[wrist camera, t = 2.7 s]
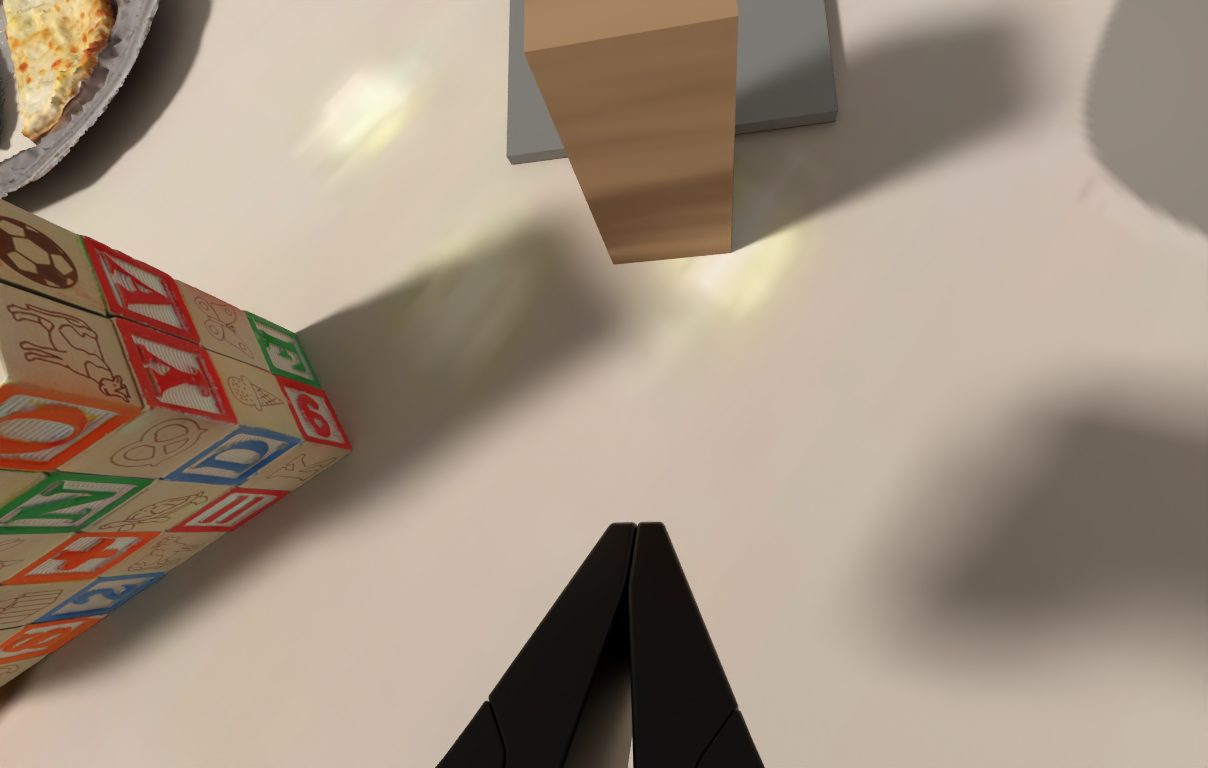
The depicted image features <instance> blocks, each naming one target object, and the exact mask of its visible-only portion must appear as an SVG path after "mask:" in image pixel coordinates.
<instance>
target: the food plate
mask: <svg viewBox="0 0 1208 768" xmlns="http://www.w3.org/2000/svg"><path fill="white" fill-rule="evenodd" d="M157 1H160V0H0V31H2V33H0V79H1V81H0V139H1V138H2V137H1V131H2V127H3V126H2V109H3V107H2V106H3V104H4V101H5V99H3V103H2V104H1V100H2V96H4V94H5V93H4V92H3V90H4V88H5V87H6V86H7V85H8V79H9V78H10V77H11V76H12V75H13V74H14V73H15V76H16V79H15V80H16V82H17V84H18V89H19V93H20V95H19V104H20V111H21V115H20V119H21V121H22V123H23V124H24V127H25V128H24V130H23V131H22V132H21V133H23V135H24V136H25V137H28V138H29V139H30V140H31V141H32V142H34V143H35V144H36V145H37V146H36V147H32V148H29V149H27V150H23V151H20V152H19V153H18V154H17V155H13V157H11V158H9V159H4V161H3V162H0V199H1V198H2V197H6V196H8V195H7V193H8V192H10V191H11V192H12V191H16V190H17V189H18V188H20V187H23V186H25V185H26V184H29V183H30V182H33V181H34V180H37V179H40V177H43V176H44V175H45V174H46V173H47V172H49V171H50V170H51V169H52V168H53V167H54V166H55V165H57V163H58V161H59V162H60V161H61V160H62V159H63V157H64V156H66V155H67V154H68V153H69V152H70V151H71V150H70V147H72V146H73V147H74V144H76V143H77V142H79V138H80V136H83V134H85V133H84V132H85V130H87V128H89V127H91V126H93V125H94V123H95V121H97V117H100V116H101V114H102V113H103V112H104V111H106V108H107V104H108V103H111V99H113V97H114V96H113V95H116V94H117V93H118V91H119V90H118V88H119V87H122V85H123V82H124V79H125V78H127V77H126V76H127V75H129V73H128V72H130V70H131V68H132V67H131V66H133V64H134V62H135V61H136V58H137V56H138V55H139V54H138V53H139V52H140V51H139V50H141V47H142V46H143V43H144V41H145V39H146V36H147V34H148V32H149V31H150V28H151V23H152V21H153V17H154V15H155V13H156V11H157V9H158V7H159V4H160V3H159V2H157ZM1 62H2V63H1ZM87 131H88V130H87Z"/></svg>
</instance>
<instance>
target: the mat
mask: <svg viewBox="0 0 1208 768" xmlns="http://www.w3.org/2000/svg"><path fill="white" fill-rule="evenodd" d="M737 6H738V42H737V74H736V105H735V134H743V133H750V132H757V131H765V130H772V129H780V128H787V127H795V126H802V125H809V124H817V123H824V122H832V121H835V119H836V116H837V112H838V108H837V100H836V92H835V84H834V76H833V68H832V60H831V52H830V44H829V36H828V28H827V20H826V12H825V4H824V0H737ZM564 157H568V156H567V153H566V151H565V149H564V146H563V144H562V142H561V139H560V137H559V135H558V132H557V130H556V127H555V125H554V123H553V120H552V118H551V116H550V113H549V111H548V109H547V106H546V104H545V101H544V99H543V97H542V94H541V92H540V90H539V87H538V85H537V83H536V80H535V78H534V75H533V73H532V71H531V68H530V66H529V64H528V61H527V59H526V57H525V54H524V0H510V26H509V73H508V120H507V158H508V159H509V161H510V163H511V164H519V163H527V162H534V161H542V160H549V159H557V158H564Z"/></svg>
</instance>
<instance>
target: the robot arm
mask: <svg viewBox="0 0 1208 768" xmlns="http://www.w3.org/2000/svg"><path fill="white" fill-rule="evenodd" d="M632 738H633V767H634V768H765V767H764V765H763V762H762V760H761V758H760V756H759V753H758V751H757V749H756V747H755V744H754V742H753V740H752V738H751V735H750V733H749V730H748V728H747V726H746V723H745V721H744V718H743V716H742V713H741V711H739V710H738V704H737V702H736V699H735V697H734V694H733V692H732V689H731V687H730V684H729V682H728V680H727V677H726V675H725V672H724V670H723V667H722V665H721V662H720V660H719V657H718V655H717V653H716V650H715V648H714V645H713V643H712V640H711V638H710V635H709V633H708V630H707V628H706V626H705V623H704V621H703V618H702V616H701V613H700V611H699V608H698V606H697V603H696V601H695V599H694V596H693V594H692V591H691V589H690V586H689V584H688V581H687V579H686V576H685V574H684V572H683V569H682V567H681V564H680V562H679V559H678V557H677V554H676V552H675V549H674V547H673V545H672V542H671V540H670V537H669V535H668V532H667V530H666V527H665V525H664V524H663V523H662V522H640V523H639V524H638V526H637V525H636V524H635V523H633V522H623V523H612V524H611V525H609V527H608V528H607V530H606V531H605V532H604V534H603V535H602V537H601V538H600V539H599V541H598V542H597V544H596V545H595V547H594V548H593V549H592V551H591V552H590V554H589V555H588V556H587V558H586V559H585V561H584V562H583V563H582V565H581V566H580V568H579V569H578V571H577V572H576V573H575V575H574V576H573V578H572V579H571V580H570V582H569V583H568V585H567V586H566V588H565V589H564V590H563V592H562V593H561V595H560V596H559V597H558V599H557V600H556V602H555V603H554V604H553V606H552V607H551V609H550V610H549V612H548V613H547V614H546V616H545V617H544V619H543V620H542V621H541V623H540V624H539V626H538V627H537V628H536V630H535V631H534V633H533V634H532V636H531V637H530V638H529V640H528V641H527V643H526V644H525V645H524V647H523V648H522V650H521V651H520V653H519V654H518V655H517V657H516V658H515V660H514V661H513V662H512V664H511V665H510V667H509V668H508V669H507V671H506V672H505V674H504V675H503V677H502V678H501V679H500V681H499V682H498V684H497V685H496V686H495V688H494V689H493V691H492V692H491V694H490V695H489V701H485V702H484V703H483V704H482V706H481V707H480V709H479V710H478V711H477V713H476V714H475V716H474V717H473V719H472V720H471V721H470V723H469V724H468V726H467V727H466V728H465V730H464V731H463V732H462V734H461V735H460V736H459V738H458V739H457V740H456V742H455V743H454V744H453V746H452V747H451V748H450V750H449V751H448V752H447V754H446V755H445V756H444V758H443V759H442V760H441V761H440V763H439V764H438V765H437V766H436V767H435V768H628V761H629V754H630V747H631V739H632Z"/></svg>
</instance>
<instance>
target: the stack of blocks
mask: <svg viewBox="0 0 1208 768" xmlns="http://www.w3.org/2000/svg"><path fill="white" fill-rule="evenodd" d="M351 451H352V448H351V445H350V444H349V441H348V439H347V437H346V435H345V433H344V431H343V429H342V427H341V425H340V423H339V421H338V419H337V416H336V414H335V412H334V410H333V408H332V406H331V404H330V402H329V400H328V398H327V396H326V394H325V392H324V391H323V390H322V388H321V386H320V384H319V382H318V380H317V378H316V376H315V374H314V372H313V369H312V367H311V365H310V363H309V361H308V359H307V357H306V355H305V353H304V350H303V348H302V346H301V344H300V342H299V340H298V337H297V335H296V334H295V333H293V332H291V331H289V330H287V329H285V328H283V327H281V326H279V325H276V324H274V323H272V322H270V321H268V320H266V319H264V318H261V317H259V316H257V315H255V314H252V313H250V312H248V311H245V310H244V311H242V310H240V309H238V308H237V307H235V306H233V305H230V304H228V303H226V302H224V301H222V300H220V299H218V298H216V297H214V296H212V295H209V294H207V293H205V292H203V291H201V290H199V289H197V288H194V287H192V286H190V285H188V284H185V283H183V282H181V281H179V280H174V279H173V278H172V277H171V276H169V275H168V274H166V273H164V272H162V271H160V270H158V269H156V268H154V267H152V266H150V265H148V264H146V263H144V262H141V261H139V260H136V259H134V258H132V257H130V256H128V255H126V254H124V253H122V252H120V251H118V250H114V249H111V248H110V247H108V246H107V245H105V244H102V243H100V242H98V241H96V240H94V239H92V238H90V237H87V236H83V235H78V234H75V233H73V232H70V231H68V230H66V229H64V228H62V227H60V226H57V225H55V224H53V223H51V222H49V221H47V220H45V219H43V218H40V217H38V216H36V215H34V214H32V213H30V212H28V211H25V210H23V209H21V208H19V207H17V206H15V205H13V204H11V203H9V202H6V201H4V200H2V199H0V687H1V686H3V685H4V684H6V683H7V682H9V681H10V680H12V679H13V678H15V677H16V676H18V675H19V674H21V673H22V672H24V671H25V670H27V669H28V668H30V667H31V666H33V665H34V664H36V663H37V662H39V661H40V660H41V659H43V658H44V657H45V656H46V655H47V654H49V653H51V652H53V651H55V650H57V649H58V648H60V647H61V646H63V645H64V644H66V643H67V642H69V641H70V640H72V639H73V638H75V637H76V636H78V635H79V634H81V633H82V632H84V631H85V630H87V629H88V628H90V627H91V626H93V625H94V624H96V623H97V622H99V621H100V620H102V619H103V618H105V617H106V616H107V614H108V612H109V611H111V610H114V609H115V608H117V607H118V606H120V605H121V604H123V603H124V602H126V601H127V600H128V599H130V598H131V597H133V596H134V595H136V594H137V593H139V592H140V591H142V590H143V589H145V588H146V587H148V586H149V585H151V584H152V583H154V582H155V581H157V580H158V579H160V578H161V577H163V576H164V575H166V573H167V572H168V571H169V570H171V569H173V568H175V567H177V566H178V565H180V564H181V563H183V562H184V561H186V560H187V559H189V558H190V557H192V556H193V555H194V554H196V553H197V552H199V551H200V550H202V549H203V548H205V547H206V546H208V545H209V544H211V543H212V542H214V541H215V540H217V539H218V538H220V537H221V536H223V535H224V534H225V533H227V532H229V531H233V530H234V529H236V528H237V527H239V526H240V525H242V524H244V523H245V522H247V521H248V520H250V519H251V518H253V517H254V516H255V515H257V514H258V513H260V512H261V511H263V510H264V509H266V508H268V507H269V506H271V505H272V504H274V503H275V502H276V501H278V500H279V499H281V498H282V497H284V496H285V495H287V494H288V493H290V492H291V491H292V490H294V489H297V488H298V487H300V486H301V485H303V484H304V483H306V482H307V481H309V480H311V479H312V478H314V477H315V476H317V475H318V474H320V473H321V472H323V471H324V470H326V469H327V468H329V467H330V466H332V465H333V464H335V463H336V462H337V461H339V460H340V459H342V458H343V457H345V456H346V455H348V454H349V453H350V452H351Z"/></svg>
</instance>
